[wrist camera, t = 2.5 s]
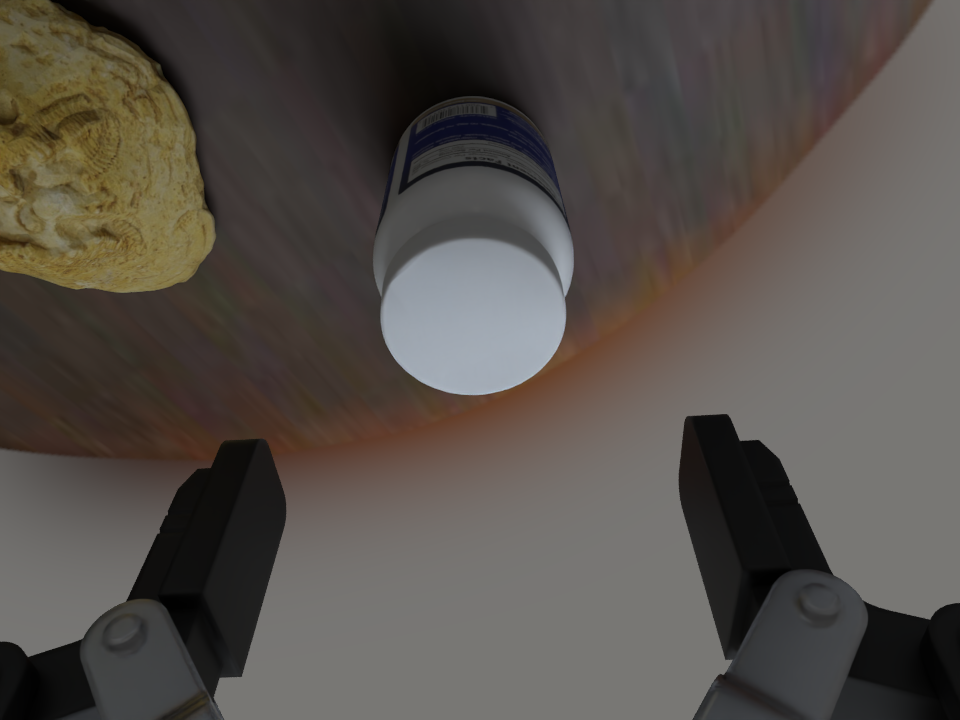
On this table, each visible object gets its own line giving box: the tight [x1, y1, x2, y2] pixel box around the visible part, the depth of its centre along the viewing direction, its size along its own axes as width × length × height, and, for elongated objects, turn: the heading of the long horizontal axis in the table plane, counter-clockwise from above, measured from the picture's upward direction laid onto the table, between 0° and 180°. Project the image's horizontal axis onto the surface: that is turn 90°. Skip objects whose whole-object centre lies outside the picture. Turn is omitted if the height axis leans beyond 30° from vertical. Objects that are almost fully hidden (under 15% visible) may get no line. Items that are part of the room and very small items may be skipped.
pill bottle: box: [373, 96, 574, 395], centre depth 23 cm, size 6×6×10 cm
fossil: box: [0, 0, 216, 293], centre depth 24 cm, size 11×6×10 cm
